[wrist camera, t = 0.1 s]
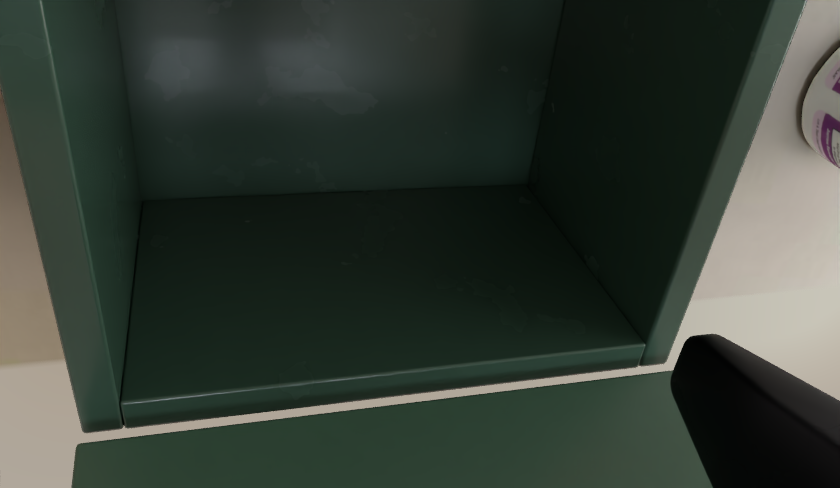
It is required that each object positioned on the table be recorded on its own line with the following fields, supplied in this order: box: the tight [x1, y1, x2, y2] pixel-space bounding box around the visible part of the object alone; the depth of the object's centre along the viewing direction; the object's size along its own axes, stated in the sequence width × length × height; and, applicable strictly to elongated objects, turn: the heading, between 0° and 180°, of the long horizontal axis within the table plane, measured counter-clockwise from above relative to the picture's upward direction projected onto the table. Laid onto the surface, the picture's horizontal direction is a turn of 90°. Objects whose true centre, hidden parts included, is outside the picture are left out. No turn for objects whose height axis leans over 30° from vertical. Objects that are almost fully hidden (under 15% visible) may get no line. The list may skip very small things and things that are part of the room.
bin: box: [0, 0, 807, 433], centre depth 16 cm, size 14×14×9 cm
